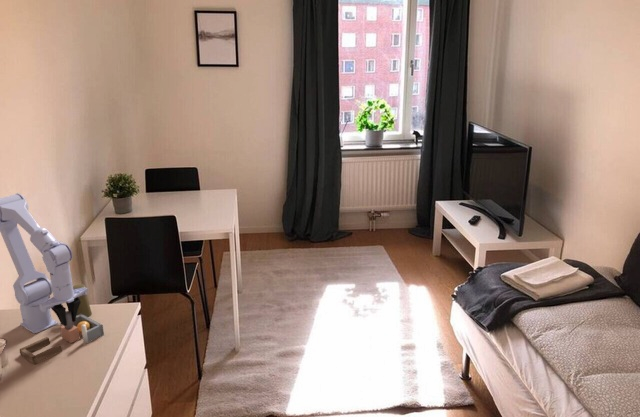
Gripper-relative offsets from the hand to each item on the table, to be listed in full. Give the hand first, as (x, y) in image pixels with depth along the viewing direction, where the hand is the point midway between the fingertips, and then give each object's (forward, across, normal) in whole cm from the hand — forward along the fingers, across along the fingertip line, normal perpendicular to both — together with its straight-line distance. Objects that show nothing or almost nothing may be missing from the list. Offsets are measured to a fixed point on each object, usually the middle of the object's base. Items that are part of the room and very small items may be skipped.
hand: (68, 322), depth 171 cm
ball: (+4, +4, 0) cm, 6 cm away
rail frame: (+6, -9, 0) cm, 11 cm away
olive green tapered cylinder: (+6, +11, +11) cm, 16 cm away
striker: (+6, 0, 0) cm, 6 cm away
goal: (+6, +5, 0) cm, 8 cm away
